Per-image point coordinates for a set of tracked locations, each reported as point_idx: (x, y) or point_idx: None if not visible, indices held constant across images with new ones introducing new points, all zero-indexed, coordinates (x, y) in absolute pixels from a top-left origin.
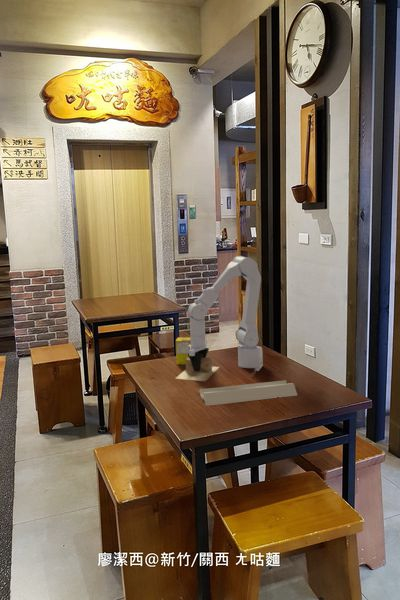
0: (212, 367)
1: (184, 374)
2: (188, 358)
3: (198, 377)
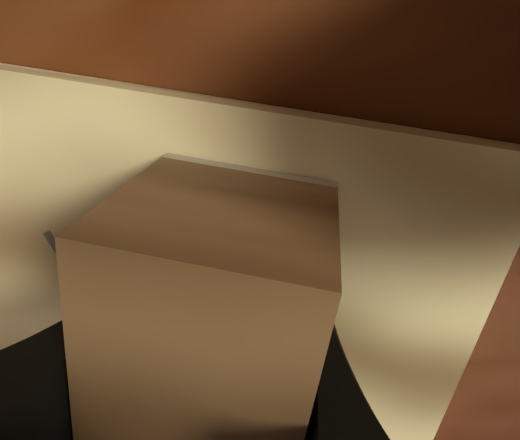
0: (396, 427)
1: (79, 149)
2: (155, 287)
3: (38, 319)
